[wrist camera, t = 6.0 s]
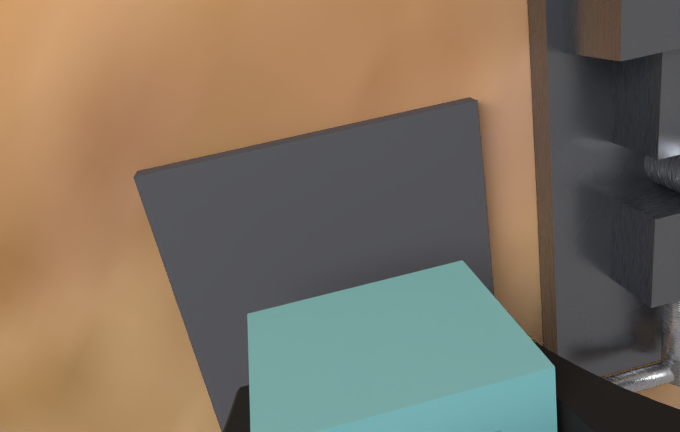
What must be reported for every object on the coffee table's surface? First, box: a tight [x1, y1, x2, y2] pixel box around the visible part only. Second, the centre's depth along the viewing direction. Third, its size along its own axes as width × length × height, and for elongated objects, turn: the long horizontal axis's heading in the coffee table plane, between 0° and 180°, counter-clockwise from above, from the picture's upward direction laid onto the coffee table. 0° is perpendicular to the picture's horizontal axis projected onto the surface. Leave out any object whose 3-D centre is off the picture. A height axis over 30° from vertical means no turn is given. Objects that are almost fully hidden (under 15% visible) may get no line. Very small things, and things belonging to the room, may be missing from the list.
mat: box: [134, 97, 494, 432], centre depth 18 cm, size 10×10×1 cm
